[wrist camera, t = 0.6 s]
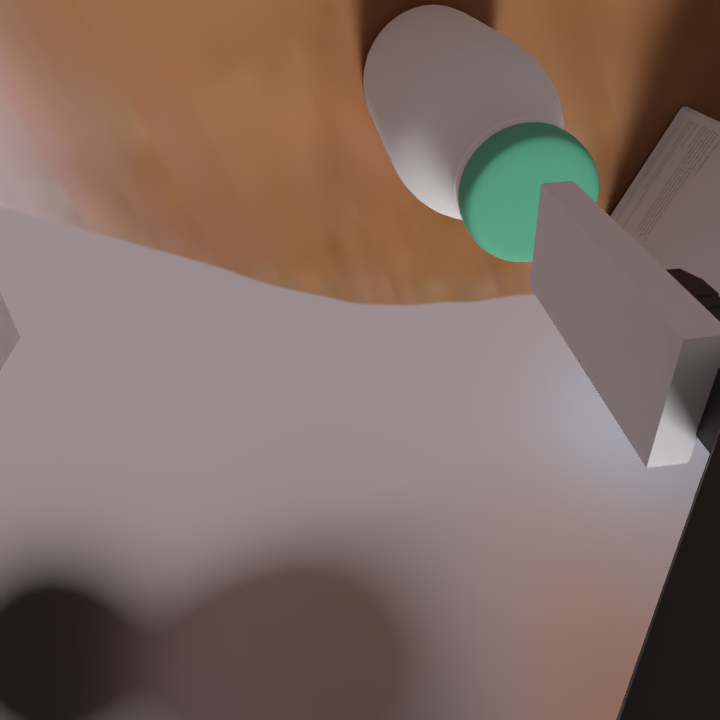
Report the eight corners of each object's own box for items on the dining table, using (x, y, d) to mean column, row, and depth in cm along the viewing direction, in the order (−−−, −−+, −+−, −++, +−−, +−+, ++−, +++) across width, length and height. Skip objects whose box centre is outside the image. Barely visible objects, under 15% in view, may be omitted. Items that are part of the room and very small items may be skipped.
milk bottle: (335, 59, 36) (375, 178, 20) (452, -30, 34) (601, 23, 18) (405, 168, 40) (485, 340, 24) (513, 94, 38) (679, 227, 22)
